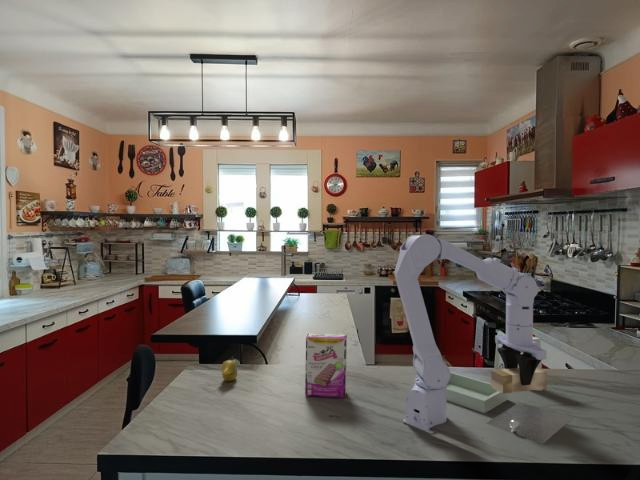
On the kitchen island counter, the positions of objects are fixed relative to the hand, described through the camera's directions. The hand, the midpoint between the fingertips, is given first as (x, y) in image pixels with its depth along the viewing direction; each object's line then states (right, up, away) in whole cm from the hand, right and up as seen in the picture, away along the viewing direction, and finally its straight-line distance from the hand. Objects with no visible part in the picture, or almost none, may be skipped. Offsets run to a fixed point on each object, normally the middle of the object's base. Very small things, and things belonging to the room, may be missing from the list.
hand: (518, 381), depth 94 cm
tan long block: (0, -2, 0) cm, 2 cm away
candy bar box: (-45, -9, +15) cm, 49 cm away
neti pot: (-74, -9, +26) cm, 79 cm away
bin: (-9, -9, +13) cm, 18 cm away
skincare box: (+12, -10, +22) cm, 27 cm away
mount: (+2, -9, -2) cm, 10 cm away
